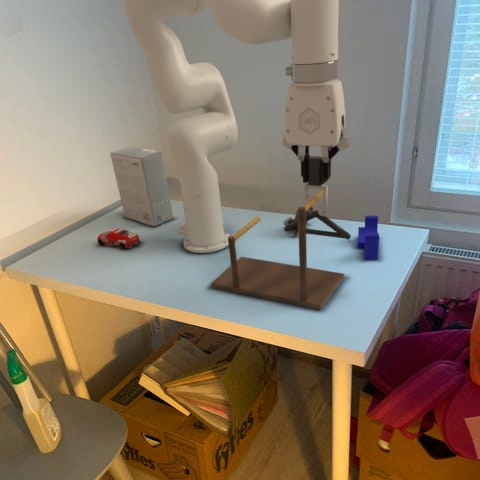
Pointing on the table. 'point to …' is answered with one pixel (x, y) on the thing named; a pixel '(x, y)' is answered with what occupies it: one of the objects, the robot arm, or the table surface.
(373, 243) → the cable clip
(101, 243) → the race car
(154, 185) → the hard drive box
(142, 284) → the table surface
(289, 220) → the eagle figurine
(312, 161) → the hanger
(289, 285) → the rack
